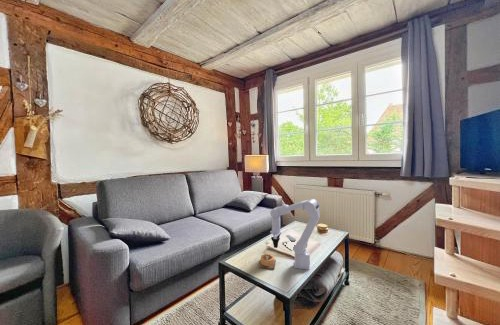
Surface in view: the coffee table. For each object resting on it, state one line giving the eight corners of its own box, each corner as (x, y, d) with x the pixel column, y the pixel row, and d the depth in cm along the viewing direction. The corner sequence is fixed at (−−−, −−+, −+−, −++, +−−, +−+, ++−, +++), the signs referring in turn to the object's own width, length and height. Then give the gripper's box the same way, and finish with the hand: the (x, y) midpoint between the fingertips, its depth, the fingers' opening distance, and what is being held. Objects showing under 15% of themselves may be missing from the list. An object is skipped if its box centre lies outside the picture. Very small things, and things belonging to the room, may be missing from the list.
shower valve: (293, 233, 173) (304, 241, 159) (293, 240, 173) (304, 248, 159) (280, 236, 168) (290, 244, 154) (280, 242, 169) (290, 251, 155)
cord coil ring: (274, 259, 140) (274, 254, 140) (273, 266, 132) (273, 261, 132) (262, 258, 142) (262, 253, 142) (260, 265, 134) (259, 259, 134)
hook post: (269, 262, 138) (268, 256, 137) (268, 263, 136) (268, 257, 135) (266, 261, 138) (265, 255, 138) (265, 263, 136) (265, 257, 136)
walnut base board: (275, 261, 141) (275, 259, 141) (274, 269, 131) (274, 267, 131) (261, 259, 143) (261, 258, 143) (258, 268, 133) (258, 266, 133)
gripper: (271, 221, 151) (271, 239, 152) (268, 229, 137) (269, 249, 138) (281, 222, 149) (281, 240, 150) (279, 229, 135) (279, 250, 136)
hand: (276, 244), depth 144 cm, fingers open, 7 cm apart
